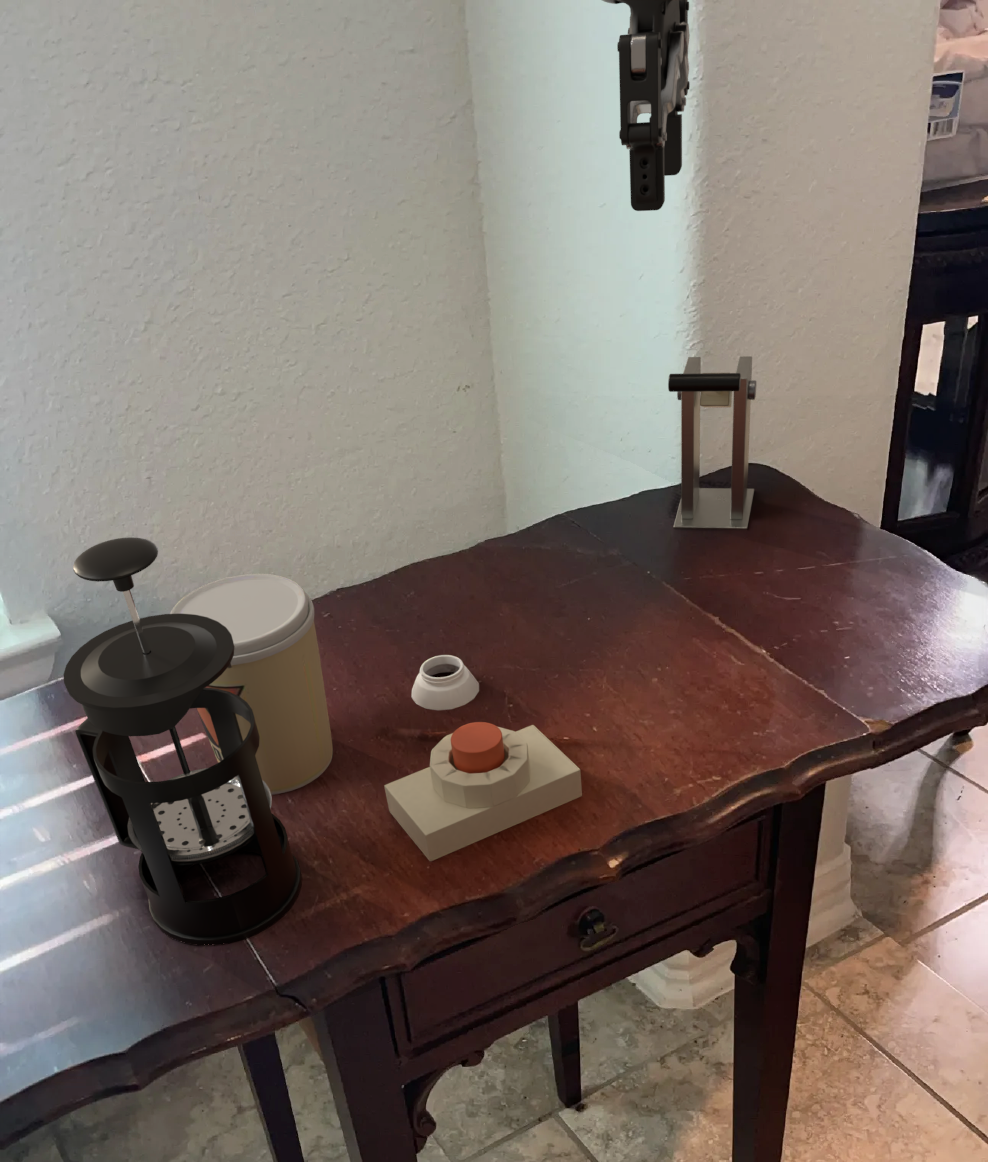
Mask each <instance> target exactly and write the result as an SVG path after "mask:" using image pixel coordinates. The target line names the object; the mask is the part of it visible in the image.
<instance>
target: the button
mask: <svg viewBox="0 0 988 1162" xmlns="http://www.w3.org/2000/svg"><path fill="white" fill-rule="evenodd" d="M498 727H499V726H497V725H495V724H494V723H491V722H485V721H473V722H470V723H466V724H463V725H461V726H460V727H458V728H456V729H455V730H454V731H453V732H452V733H453V734H452V733H451V734H452V736H451V747H452V753H453V760H454V764H455V766H456V768H457V769H458V770H460V771H462V772H466V773H469V774H471V773H486V772H489V771H491V770H493V769H496V768H498V767H500V766H501V765H502V763H503V762H504V759H505V754H504V746H503V737H502V732H501V730H500V729H499V728H498Z"/></svg>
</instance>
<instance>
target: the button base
mask: <svg viewBox="0 0 988 1162" xmlns="http://www.w3.org/2000/svg"><path fill="white" fill-rule="evenodd" d="M497 727H498V728H499V729H500V730H501V732H502V737H503V746H504V754H505V759H504V762H503V763H502V765H501V766H500V767H498V768H496V769H493V770H491V771H489V772H486V773H471V774H469V773H466V772H462V771H460V770H458V769H457V768H456V766H455V764H454V760H453V753H452V747H451V736H452V734H453V733H454V732H452V733H450V734H446V735H445V736H444V737H443V738H442V739H441V740H440V741H439V742H438V743H436V745H435V746H434V747H433V748H432V749H431V751H430V759H429V766H428V767H426V768H423V769H420V770H418V771H416V772H413V773H411V774H409V775H406V776H403V777H401V778H399V779H396V780H394V781H391V782H388V783H386V784H384V785H383V786H384V787H383V788H384V792H385V797H386V802H387V807H388V812H389V813H390V815H392V817H393V818H394V820H396V822H397V823H398V825H399V826H401V828H402V829H403V830H404V832H405V833H406V834H407V835H408V837H409V838H410V839H411V840H412V842H413V843H414V844H415V846H417V847H418V849H419V850H420V851H421V853H422V854H423V855H424V856H425V857H426V859H427V860H428V861H429V862H433V861H435V860H437V859H440V858H442V857H444V856H447V855H449V854H451V853H454V852H456V851H459V850H461V849H463V848H466V847H468V846H470V845H472V844H475V843H477V842H479V841H481V840H484V839H486V838H488V837H491V836H493V835H495V834H497V833H500V832H502V831H505V830H507V829H509V828H511V827H514V826H516V825H518V824H521V823H523V822H526V821H528V820H531V819H533V818H534V817H536V816H537V817H538V816H540V815H542V814H544V813H546V812H548V811H551V810H552V809H555V808H558V807H560V806H563V805H565V804H567V803H569V802H571V801H572V802H573V801H574V800H576V799H579V798H581V797H583V787H582V775H581V774H582V773H581V769H580V768H579V767H578V766H577V764H575V763H574V762H573V761H572V760H571V759H570V757H568V756H567V755H566V754H564V752H563V751H562V750H560V748H559V747H558V746H556V745H555V744H554V743H553V742H552V741H551V740H550V739H549V738H548V737H547V736H546V735H545V734H543V732H541V731H540V729H538V728H537V727H536V726H535V725H534V724H531V725H528V726H526V727H524V728H522V729H521V728H520V729H519V730H516V731H515V730H512V729H508V728H505V727H501V726H497Z"/></svg>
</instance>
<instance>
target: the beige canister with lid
mask: <svg viewBox="0 0 988 1162" xmlns="http://www.w3.org/2000/svg"><path fill="white" fill-rule="evenodd" d="M169 614H194V615H199V616H204V617H208V618H210V619H213V620H215V621H218V622H219V623H221V624H222V625H223V626H225V627H226V628H227V629H228V631H229V632H230V633H231V635H232V639H233V643H234V646H235V648H234V656H233V658H232V660H231V666H232V668H228V667H227V669H226V670H225V671H224V672H223V674H222V675H221V676H219V677H218V678H217V679H216V680H215V681H214V682H213V683H211V684H210V685H208V686H207V687H205V688H215V689H220V690H224V691H228V692H231V693H233V694H235V695H238V696H239V697H241V698H242V699H243V700H245V701H246V702H247V703H248V704H249V706H250V707H251V709H252V711H253V714H254V718H255V722H256V725H257V729H258V733H259V736H260V739H259V747H258V750H257V752H256V755H255V757H256V760H257V764H258V767H259V771H260V774H261V778H262V780H263V781H264V782H265V783H266V785H267V786H268V788H269V789H270V793H271V796H273V795H279V794H284V793H289V792H292V791H295V790H297V789H300V788H303V787H305V786H307V785H308V784H310V783H312V782H314V781H315V780H316V779H318V778H319V777H320V776H321V775H323V774H324V772H326V770H327V769H328V767H329V766H330V764H331V762H332V759H333V753H334V750H333V747H334V746H333V739H332V738H333V737H332V732H331V725H330V724H331V723H330V717H329V711H328V704H327V696H326V689H325V683H324V677H323V675H324V674H323V670H322V661H321V656H320V649H319V644H318V637H317V631H316V625H315V606H314V602H313V601H312V598H311V597H310V595H309V594H308V593H307V592H306V591H305V590H304V589H303V586H301V585H300V584H299V583H297V582H296V581H294V580H293V579H290V578H288V577H285V576H281V575H277V574H272V573H271V574H270V573H246V574H238V575H233V576H227V577H224V578H220V579H217V580H214V581H211V582H209V583H206V584H203V585H202V586H200V587H198V588H195V589H194V590H192V591H190V592H189V593H187V594H186V595H184V596H183V597H182V598H181V599H179V600H178V602H177V603H176V604H174V606H173V608H172V609H171V611H170V613H169ZM195 709H196V711H197V714H198V716H199V719H200V721H201V724H202V726H203V729H204V731H205V734H206V736H207V739H208V741H209V744H210V746H211V749H212V751H213V755H214V756H215V759H216V761H217V763H219V762H220V761H222V760H223V756H222V752H221V749H220V746H219V742H218V739H217V736H216V733H215V729H214V726H213V723H212V720H211V716H210V713H209V710H208V708H195ZM235 714H236V713H235ZM236 718H237V721H238V725H239V728H240V731H241V735H242V738H243V741H244V739H245V738H246V737H247V734H248V732H249V729H250V726H251V724H250V723H249V722H248V721H247V720H246V719H245V718H243V717H242V716H240V715H238V714H236Z"/></svg>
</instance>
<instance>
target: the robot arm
mask: <svg viewBox="0 0 988 1162" xmlns="http://www.w3.org/2000/svg"><path fill="white" fill-rule="evenodd" d="M601 1H602V2H604V3H607V4H613V5H618V4H626V5H627V6H628V7H629V12H630V16H629V27H628V30H627V34H620V35H619V38H618V41H617V44H616V45H617V52H618V70H619V71H618V73H619V77H618V78H619V117H620V119H619V121H620V126H619V127H620V130H619V133H618V135H619V136H618V138H619V140H620V143H621V146H625V147H626V150H629V154H628V155H629V188H630V206H631V208H632V210H633V211H636V212H646V211H651V212H652V211H659V210H660V209H662V207H663V206H664V204H665V200H666V194H665V193H666V187H665V185H666V183H665V181H666V180H665V177H666V176H676V175H678V174H679V173H680V172H681V171H682V167H683V114H682V112H684V111H685V107H686V106H687V97H686V96H688V91H689V90H690V85H691V84H690V83H691V82H690V80H689V73H690V63H689V44H690V36H691V35H690V25H689V14H688V12H689V11H690V1H688V0H601ZM678 113H680V114H678ZM641 114H650V116H649V119H648V120H649V121H648V122H647V121H644V122H638V117H639V116H640V115H641Z"/></svg>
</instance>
